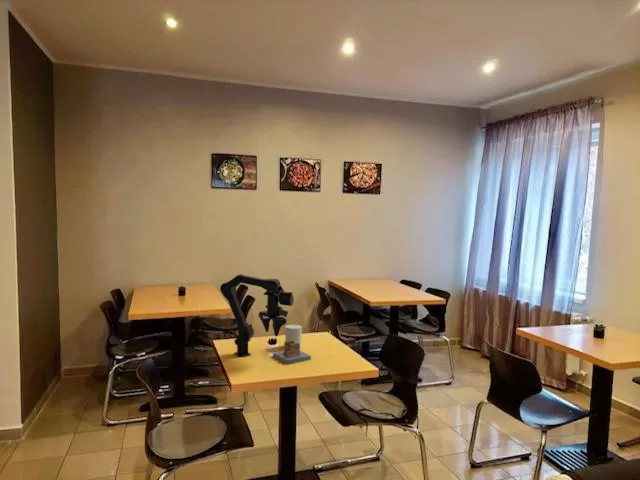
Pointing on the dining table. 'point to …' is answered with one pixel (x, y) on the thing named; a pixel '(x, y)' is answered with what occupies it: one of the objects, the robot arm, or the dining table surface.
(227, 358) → the dining table surface
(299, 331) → the can
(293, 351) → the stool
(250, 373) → the dining table surface
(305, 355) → the slab
